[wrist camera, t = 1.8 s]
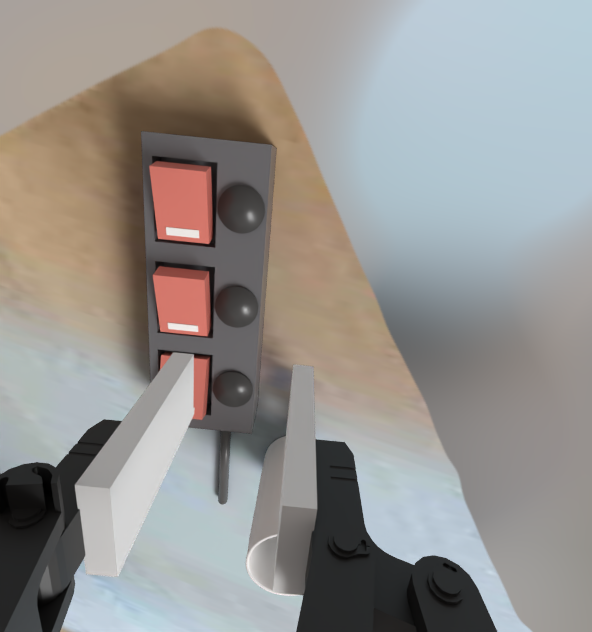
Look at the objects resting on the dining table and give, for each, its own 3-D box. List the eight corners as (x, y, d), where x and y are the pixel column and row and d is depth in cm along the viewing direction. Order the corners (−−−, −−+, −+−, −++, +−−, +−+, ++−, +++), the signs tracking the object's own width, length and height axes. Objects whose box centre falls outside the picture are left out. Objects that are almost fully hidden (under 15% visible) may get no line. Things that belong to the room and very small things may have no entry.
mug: (304, 493, 43) (303, 607, 32) (251, 466, 42) (230, 575, 31) (356, 428, 40) (375, 529, 29) (299, 397, 39) (296, 490, 27)
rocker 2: (166, 321, 33) (160, 332, 31) (159, 266, 30) (152, 275, 29) (211, 326, 33) (207, 336, 32) (208, 271, 30) (204, 280, 29)
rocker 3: (162, 409, 34) (156, 415, 33) (166, 351, 34) (160, 355, 32) (206, 413, 34) (201, 420, 33) (210, 355, 34) (206, 359, 32)
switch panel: (170, 493, 44) (154, 529, 39) (163, 136, 31) (139, 130, 26) (250, 501, 44) (244, 538, 39) (276, 148, 31) (271, 144, 27)
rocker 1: (164, 231, 30) (157, 238, 29) (156, 160, 27) (148, 166, 26) (213, 236, 30) (208, 244, 29) (210, 166, 27) (205, 172, 26)
